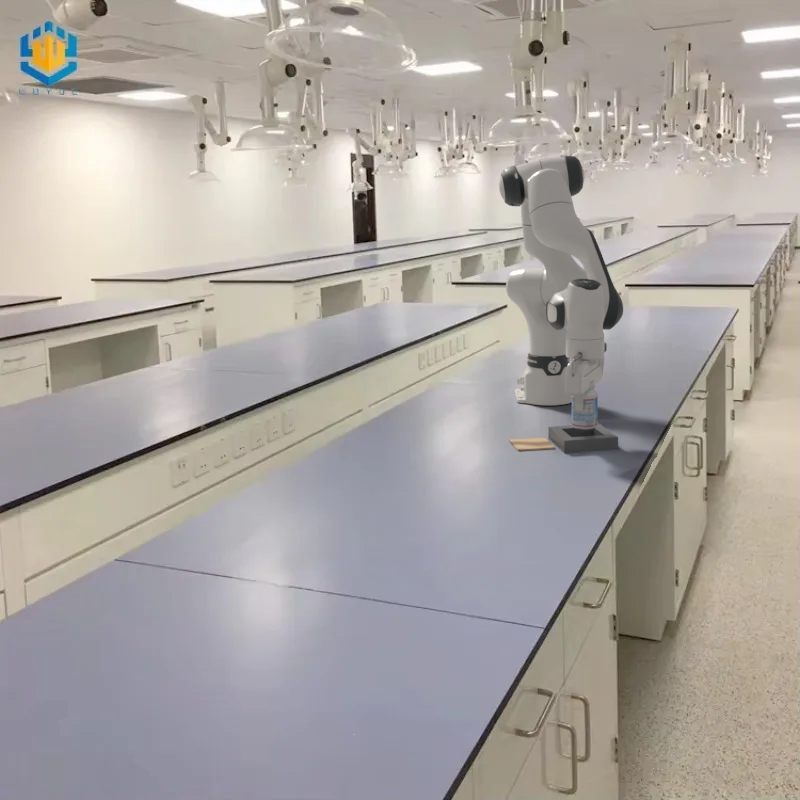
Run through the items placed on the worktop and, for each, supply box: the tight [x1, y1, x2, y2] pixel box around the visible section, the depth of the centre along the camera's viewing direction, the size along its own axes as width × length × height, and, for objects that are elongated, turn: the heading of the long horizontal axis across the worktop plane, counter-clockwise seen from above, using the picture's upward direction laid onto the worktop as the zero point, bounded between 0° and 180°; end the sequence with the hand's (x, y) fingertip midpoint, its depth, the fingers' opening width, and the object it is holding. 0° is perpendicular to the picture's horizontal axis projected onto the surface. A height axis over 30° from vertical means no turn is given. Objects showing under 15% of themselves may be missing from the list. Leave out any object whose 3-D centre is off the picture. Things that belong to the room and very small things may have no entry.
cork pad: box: [508, 436, 556, 452], centre depth 208 cm, size 9×9×1 cm
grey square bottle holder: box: [547, 423, 619, 454], centre depth 207 cm, size 13×13×3 cm
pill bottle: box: [570, 381, 599, 430], centre depth 205 cm, size 6×6×11 cm
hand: (584, 406), depth 205 cm, fingers closed on pill bottle, 6 cm apart
